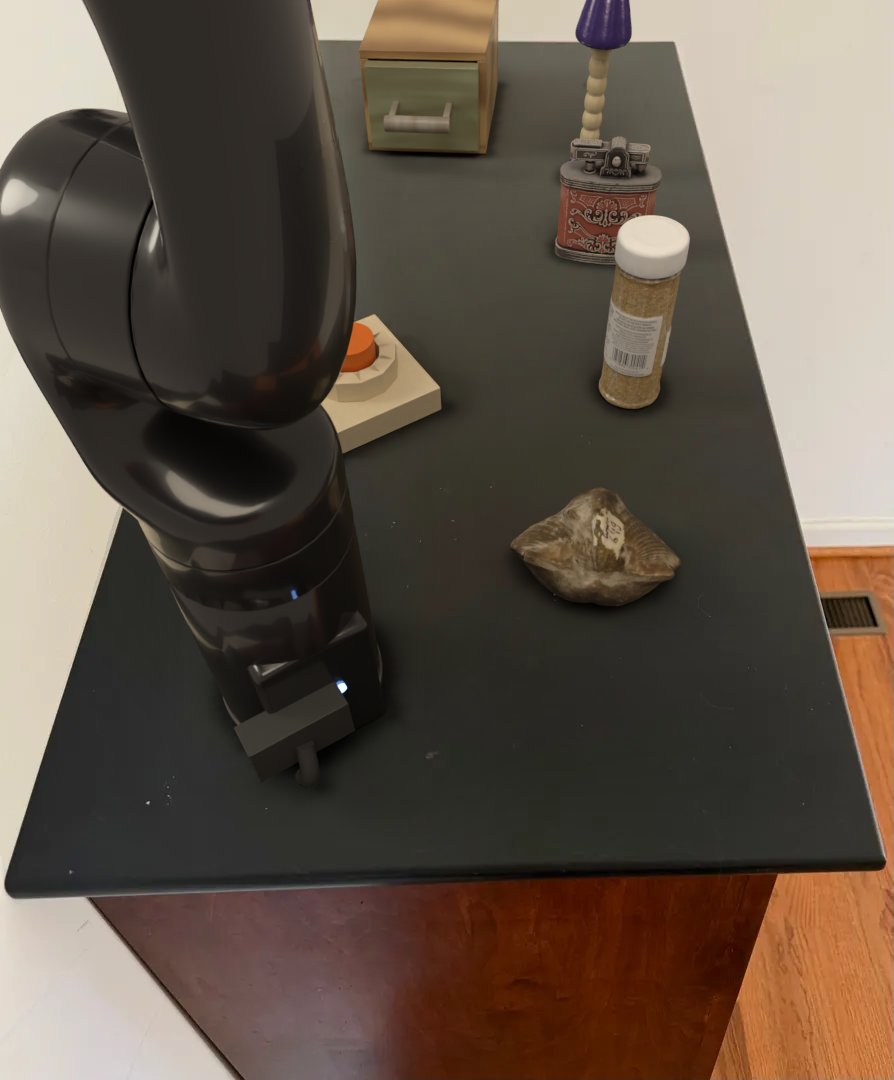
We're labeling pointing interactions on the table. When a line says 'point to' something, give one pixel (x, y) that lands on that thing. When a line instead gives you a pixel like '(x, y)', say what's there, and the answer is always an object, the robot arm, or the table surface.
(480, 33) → the cabinet
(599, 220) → the lighter
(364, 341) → the button
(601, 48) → the toy lamp
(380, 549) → the table surface
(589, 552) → the fossilized seashell
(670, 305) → the spice jar
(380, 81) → the drawer
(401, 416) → the button block
